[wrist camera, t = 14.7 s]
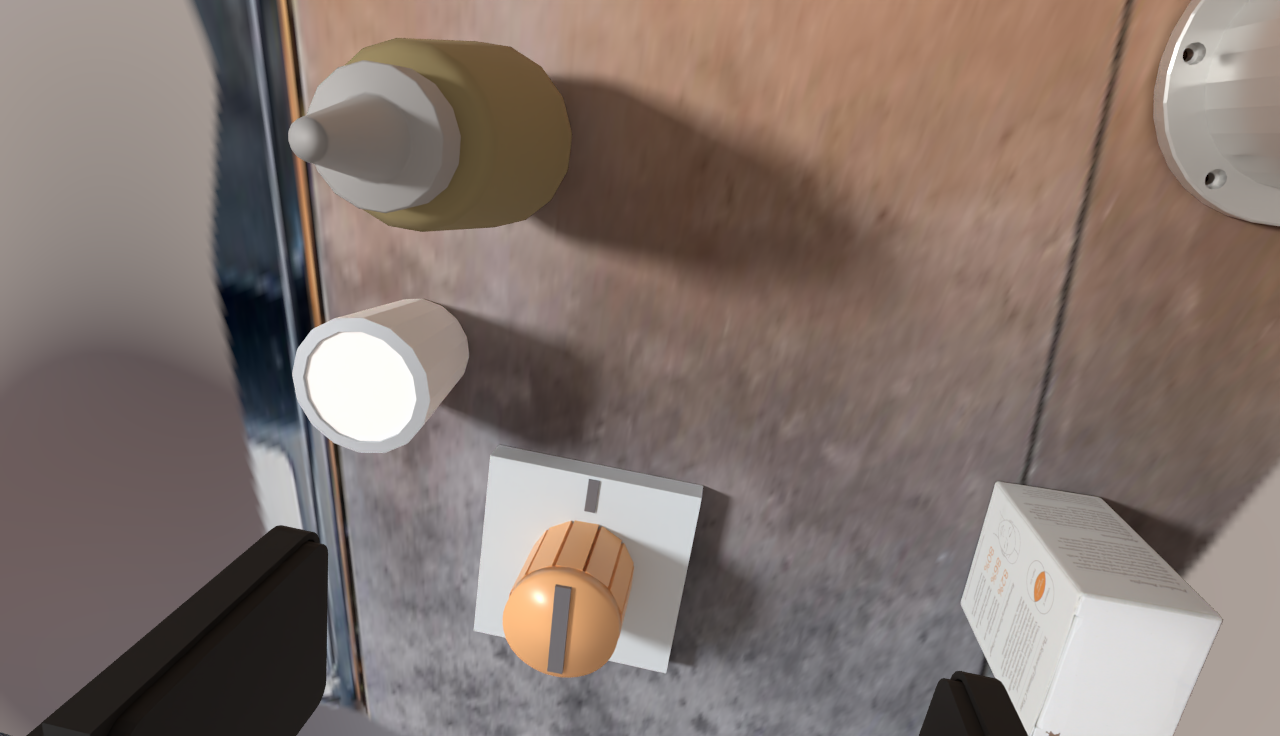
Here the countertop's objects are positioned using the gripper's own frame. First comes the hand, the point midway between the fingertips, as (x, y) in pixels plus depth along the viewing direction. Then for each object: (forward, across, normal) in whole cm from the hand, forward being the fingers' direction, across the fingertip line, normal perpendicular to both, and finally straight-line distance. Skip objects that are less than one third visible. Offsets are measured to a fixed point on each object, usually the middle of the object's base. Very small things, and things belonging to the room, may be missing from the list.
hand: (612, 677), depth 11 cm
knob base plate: (+28, +4, +17) cm, 33 cm away
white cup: (+28, +15, +6) cm, 33 cm away
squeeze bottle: (+28, +11, -6) cm, 31 cm away
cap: (+27, +4, +17) cm, 32 cm away
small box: (+29, -20, +11) cm, 37 cm away
